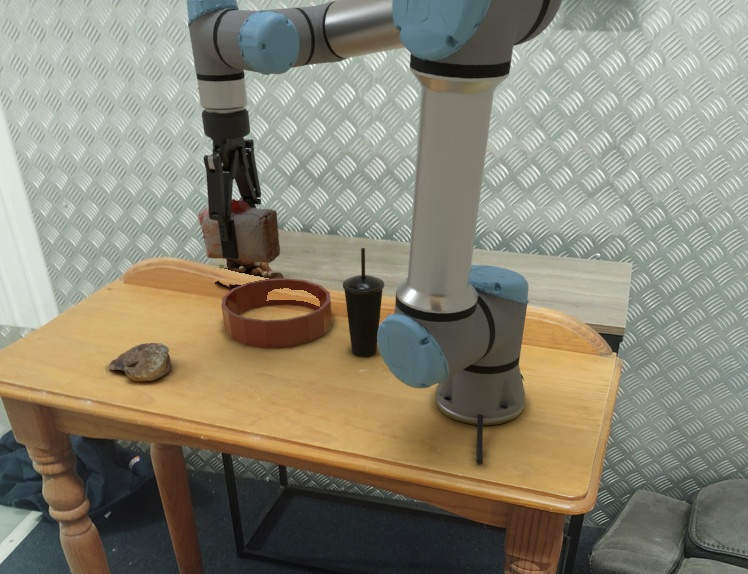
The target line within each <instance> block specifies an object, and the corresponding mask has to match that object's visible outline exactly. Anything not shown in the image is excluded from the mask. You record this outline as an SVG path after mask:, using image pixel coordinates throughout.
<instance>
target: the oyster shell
mask: <svg viewBox="0 0 748 574" xmlns="http://www.w3.org/2000/svg"><path fill="white" fill-rule="evenodd" d="M169 351H170V350H169V346H167V345H165V344H163V343H161V342H160V343H159V342H149V343H148V342H145V343H139V344H137V345H135V346H132V347H131V348H129V349H128V350H126V351H124V352H123V353H121V354H119V355H118V356H117V357H116V358H115V359H113V360H112V361H110V363H109V364H108V368H109V370H113V371H115V370H117V371H123V372H124V373H125V375H126V376H127V378H129V379H130V380H133V381H134V382H153V381H156V380H157V379H160V378H162V377H164V376H165V375H167V374H169V373H170V371H171V369H172V362H171V360H172V359H171V356H170V354H169Z"/></svg>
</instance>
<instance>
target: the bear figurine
mask: <svg viewBox="0 0 748 574" xmlns="http://www.w3.org/2000/svg"><path fill="white" fill-rule="evenodd" d="M225 260H226V262H225V263H226V266H225V265H224V264H219V265H217V267H218V268H219V269H220V268H224V269H228V270H231V271H235V272H239V273H245V274H249V275H254V276H260V277H264V278H269V279H281V278H285V277H284V274H283V273H282V272H278V271H277V272H276V271H275V272H273V270H272V268H271V267H270V263H265V262H253V261H245V260H234V259H225Z"/></svg>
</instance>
